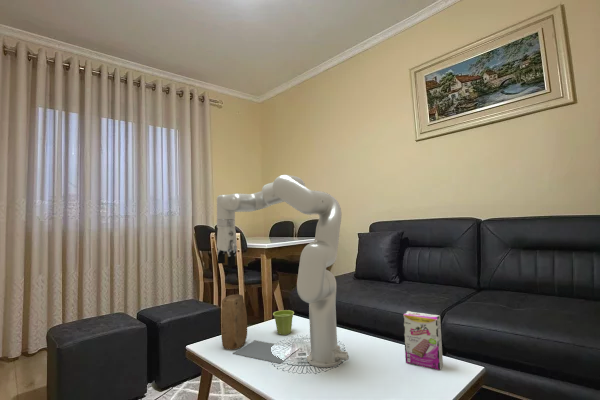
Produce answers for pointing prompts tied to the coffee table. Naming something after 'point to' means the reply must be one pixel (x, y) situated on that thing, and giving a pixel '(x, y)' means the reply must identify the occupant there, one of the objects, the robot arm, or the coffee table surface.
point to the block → (233, 322)
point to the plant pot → (283, 321)
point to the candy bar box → (423, 340)
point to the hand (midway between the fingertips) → (226, 264)
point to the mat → (259, 351)
